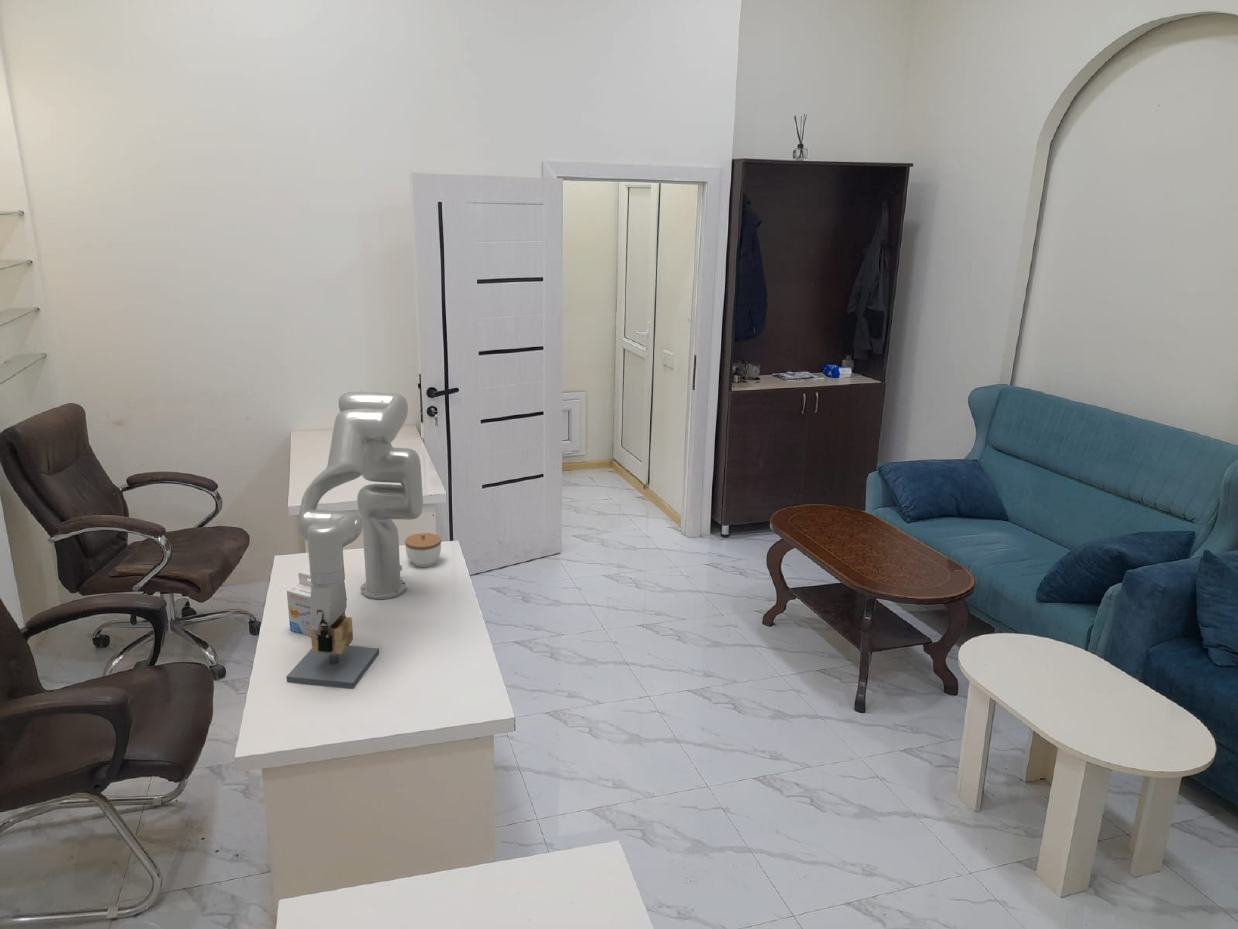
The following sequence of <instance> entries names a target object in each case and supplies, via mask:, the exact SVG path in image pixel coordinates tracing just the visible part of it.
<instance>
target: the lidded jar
mask: <svg viewBox="0 0 1238 929" xmlns="http://www.w3.org/2000/svg"><path fill="white" fill-rule="evenodd" d="M404 543H405V544H404V545H405V551H406V556H407V558H408V560H409V561H410V562H411V563H412V564H413V565H414V566H415V567H419V568H427V567H432V566H433V565H434V564H435V562H436V561H437V560H438V559H439V558H440V554H441V550H442V538H441V536H439V535H438V534H435V533H431V532H430V533H428V532H422V533H421V532H420V533H416V534H415V533H414V534H412V535H409V536H408V537H406V538H405V539H404Z"/></svg>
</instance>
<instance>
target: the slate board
mask: <svg viewBox="0 0 1238 929" xmlns="http://www.w3.org/2000/svg"><path fill="white" fill-rule="evenodd" d="M379 655H380V648H378V647H372V646H371V647H369V646H359V645H349V646H348V647H347V648H346V649H345V650H344V652H343V653H342V654H339V663H337V664H334V665H332V664H329V657H328V653H321V652H312V648H311V649H310V650H309V651H308V652H307V653H306V654H305V655H304V657H302V658H301V660H299V662H298V663H296V665H295V666H294V667H293V668H292V670H290V672H289V673H288V674H287V675H286V676H285V678H286V682H287V683H293V684H304V685H312V686H313V685H314V686H325V687H332V688H343V689H354V688H355V687H356V686H357V684H358V683H359V682H360V680H361V679H362V678H363V676H364V675H365V674H366V672H367V671H368V670H369V668H370V667H371V666H372V664H373V663H374V661H375V660H376V659H377V658H378V656H379Z"/></svg>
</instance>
